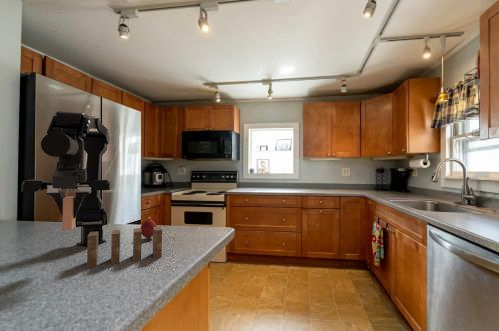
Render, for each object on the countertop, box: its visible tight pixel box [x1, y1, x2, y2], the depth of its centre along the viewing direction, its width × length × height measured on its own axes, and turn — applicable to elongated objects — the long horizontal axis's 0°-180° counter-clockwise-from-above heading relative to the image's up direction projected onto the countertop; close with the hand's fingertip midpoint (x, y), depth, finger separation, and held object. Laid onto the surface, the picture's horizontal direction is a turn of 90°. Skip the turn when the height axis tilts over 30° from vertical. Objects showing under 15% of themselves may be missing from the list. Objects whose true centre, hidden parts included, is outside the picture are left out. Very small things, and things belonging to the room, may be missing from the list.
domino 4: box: [152, 226, 163, 259], centre depth 77 cm, size 2×5×8 cm, turn 26°
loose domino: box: [61, 195, 76, 231], centre depth 67 cm, size 2×5×8 cm, turn 26°
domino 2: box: [110, 229, 121, 265], centre depth 72 cm, size 2×5×8 cm, turn 26°
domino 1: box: [86, 232, 99, 268], centre depth 70 cm, size 2×5×8 cm, turn 26°
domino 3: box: [132, 227, 143, 262], centre depth 74 cm, size 2×5×8 cm, turn 26°
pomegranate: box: [140, 216, 158, 240], centre depth 95 cm, size 6×6×8 cm
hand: (69, 218), depth 67 cm, fingers closed on loose domino, 2 cm apart
